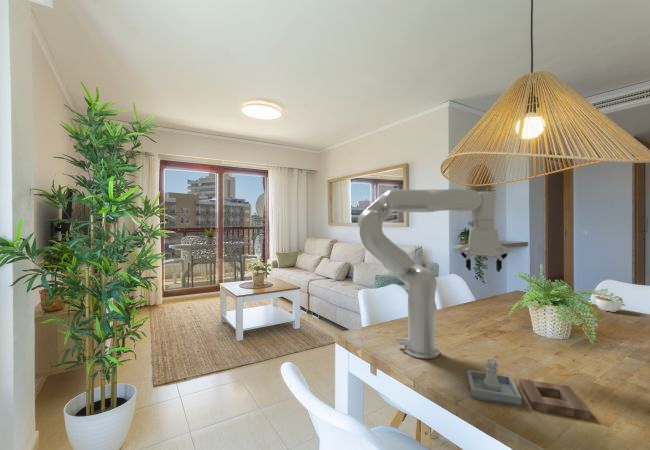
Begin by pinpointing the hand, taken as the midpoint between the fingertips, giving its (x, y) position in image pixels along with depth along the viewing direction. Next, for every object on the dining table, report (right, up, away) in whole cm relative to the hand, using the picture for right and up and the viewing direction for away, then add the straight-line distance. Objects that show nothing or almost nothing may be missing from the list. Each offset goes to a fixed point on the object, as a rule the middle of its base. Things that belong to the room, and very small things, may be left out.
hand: (483, 270), depth 111 cm
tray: (-12, -30, -27) cm, 42 cm away
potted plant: (+96, -30, +51) cm, 113 cm away
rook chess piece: (-12, -30, -26) cm, 42 cm away
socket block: (+1, -30, -31) cm, 44 cm away
